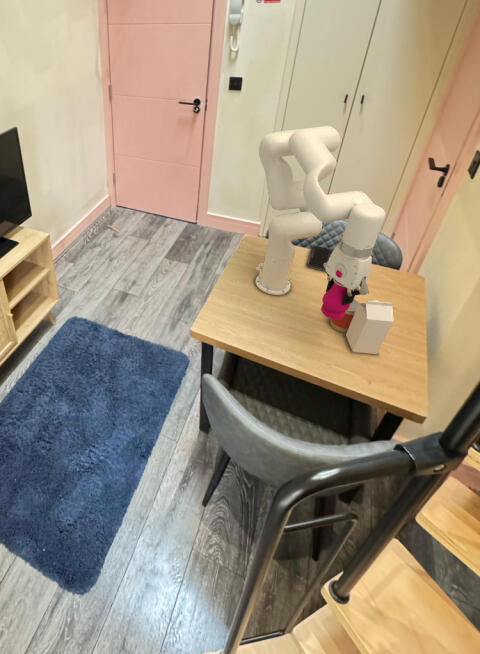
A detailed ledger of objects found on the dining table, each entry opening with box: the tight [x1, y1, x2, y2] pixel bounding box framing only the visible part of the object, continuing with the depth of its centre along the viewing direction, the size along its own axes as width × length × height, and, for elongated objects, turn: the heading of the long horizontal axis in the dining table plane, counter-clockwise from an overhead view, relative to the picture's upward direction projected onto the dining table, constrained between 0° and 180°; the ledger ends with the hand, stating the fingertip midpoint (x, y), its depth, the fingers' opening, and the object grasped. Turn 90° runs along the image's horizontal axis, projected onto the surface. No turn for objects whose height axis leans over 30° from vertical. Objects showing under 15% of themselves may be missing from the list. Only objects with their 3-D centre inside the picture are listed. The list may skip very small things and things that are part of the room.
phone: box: [306, 245, 333, 273], centre depth 166 cm, size 8×1×15 cm
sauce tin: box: [329, 299, 360, 333], centre depth 134 cm, size 7×7×10 cm
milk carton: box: [345, 299, 395, 355], centre depth 124 cm, size 7×7×19 cm
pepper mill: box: [320, 270, 350, 320], centre depth 116 cm, size 7×7×20 cm
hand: (338, 296), depth 118 cm, fingers closed on pepper mill, 5 cm apart
